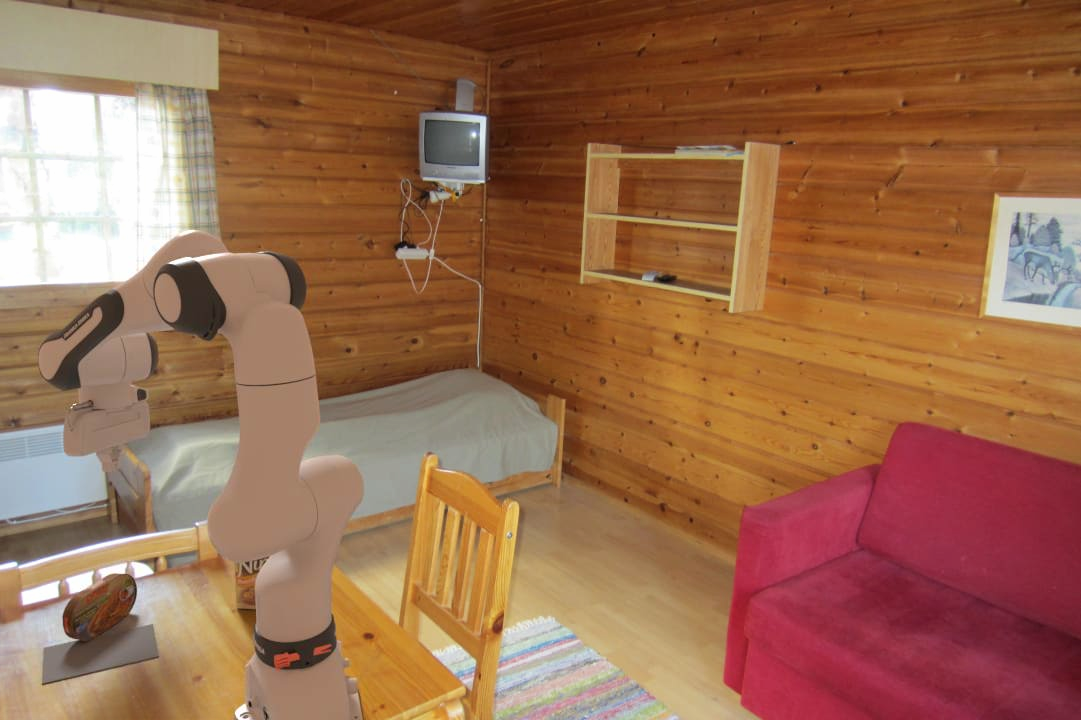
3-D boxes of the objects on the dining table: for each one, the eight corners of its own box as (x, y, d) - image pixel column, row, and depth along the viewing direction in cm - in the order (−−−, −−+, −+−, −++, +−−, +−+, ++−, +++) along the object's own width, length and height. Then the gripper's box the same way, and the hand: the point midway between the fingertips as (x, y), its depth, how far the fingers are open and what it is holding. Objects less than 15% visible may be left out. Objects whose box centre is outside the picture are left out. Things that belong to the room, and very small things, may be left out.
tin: (76, 650, 139) (71, 605, 137) (61, 647, 139) (56, 602, 138) (140, 607, 153) (136, 566, 151) (126, 605, 154) (122, 564, 152)
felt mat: (158, 656, 138) (158, 655, 138) (42, 684, 130) (42, 683, 130) (153, 624, 147) (153, 623, 147) (43, 648, 139) (43, 647, 139)
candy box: (235, 609, 154) (231, 534, 150) (244, 598, 158) (241, 525, 154) (281, 612, 153) (278, 537, 150) (289, 600, 157) (286, 527, 154)
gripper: (83, 405, 140) (89, 484, 141) (153, 389, 160) (158, 458, 162) (49, 405, 141) (56, 484, 142) (124, 389, 161) (129, 458, 162)
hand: (111, 470), depth 152 cm, fingers closed
